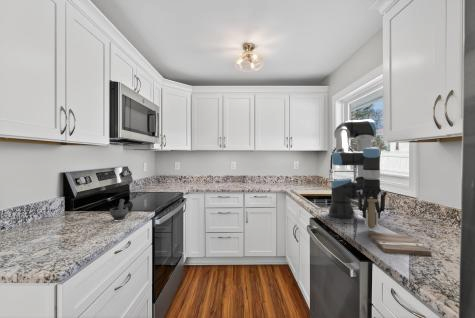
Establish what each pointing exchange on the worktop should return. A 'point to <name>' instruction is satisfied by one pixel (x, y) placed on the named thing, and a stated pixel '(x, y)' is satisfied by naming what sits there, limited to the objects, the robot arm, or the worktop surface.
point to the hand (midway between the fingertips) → (371, 224)
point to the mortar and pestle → (119, 211)
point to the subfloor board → (398, 244)
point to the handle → (371, 212)
